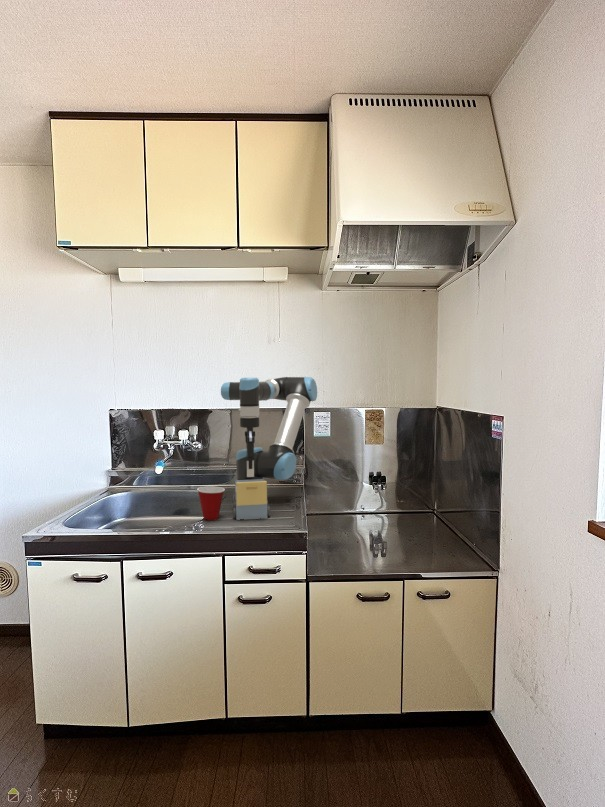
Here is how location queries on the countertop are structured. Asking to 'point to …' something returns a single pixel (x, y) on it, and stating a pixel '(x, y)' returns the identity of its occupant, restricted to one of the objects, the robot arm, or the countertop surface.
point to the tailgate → (251, 493)
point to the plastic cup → (210, 501)
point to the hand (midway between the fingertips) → (250, 476)
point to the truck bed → (250, 507)
